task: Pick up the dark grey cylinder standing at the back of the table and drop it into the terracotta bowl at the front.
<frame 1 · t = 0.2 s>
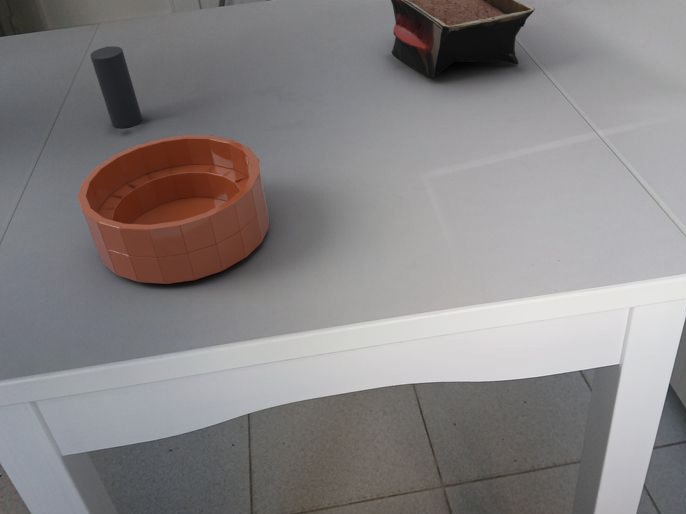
dark grey cylinder: (127, 121, 85), on the table
black soil planter box: (452, 59, 90), on the table
bowl: (186, 236, 66), on the table
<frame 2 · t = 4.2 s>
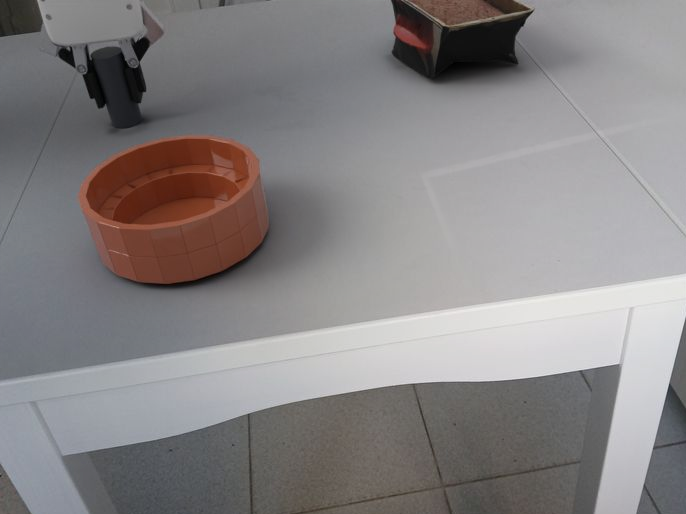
hand: (120, 99, 83), 3 cm above the table, tool pointing down, fingers closed on dark grey cylinder, 3 cm apart
dark grey cylinder: (127, 121, 85), on the table, touching gripper
everything else where it was.
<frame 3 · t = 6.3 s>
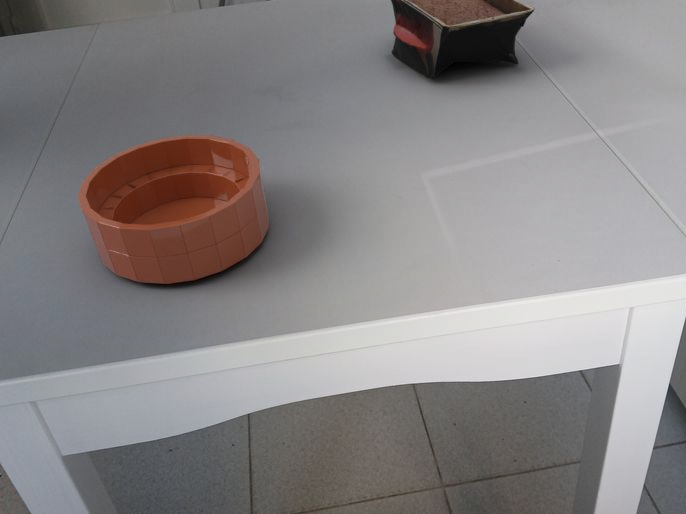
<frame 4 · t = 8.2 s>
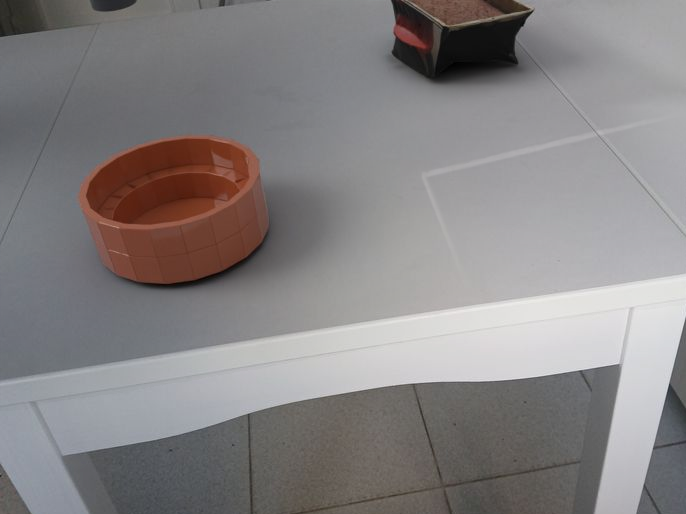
dark grey cylinder: (114, 4, 57), point 19 cm above the table, touching gripper
everything else where it was.
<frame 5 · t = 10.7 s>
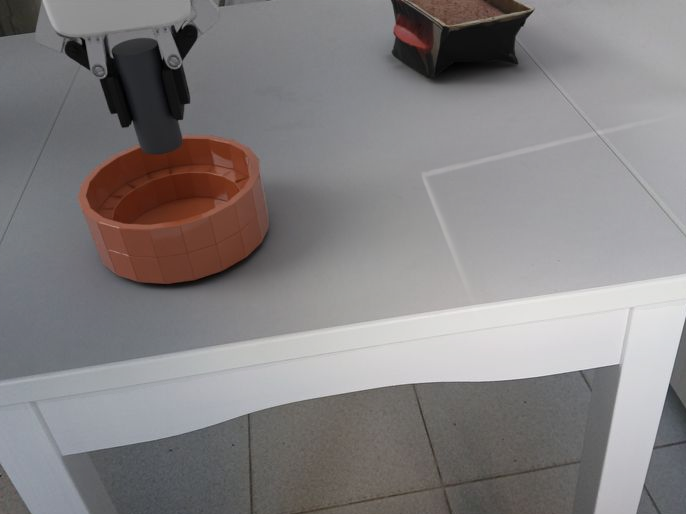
hand: (153, 114, 58), 12 cm above the table, tool pointing down, fingers closed on dark grey cylinder, 3 cm apart
dark grey cylinder: (162, 144, 60), point 9 cm above the table, touching gripper
everything else where it was.
when the fingers open (6 cm above the table, at t = 12.6 s): dark grey cylinder drops 3 cm, resting on bowl.
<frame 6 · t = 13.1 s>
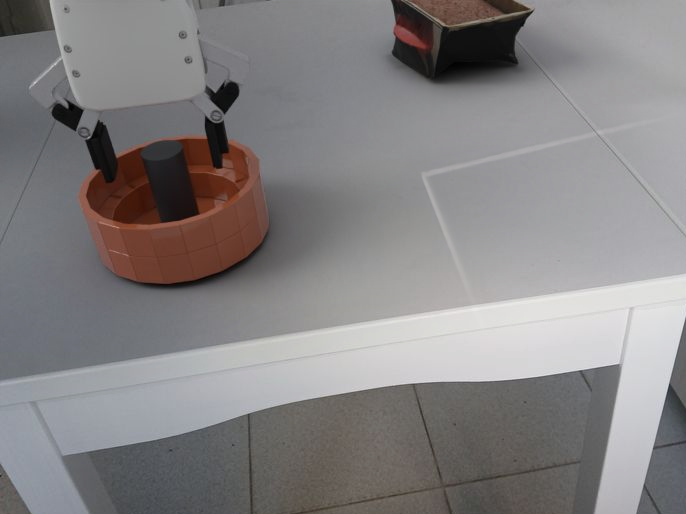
hand: (165, 167, 61), 7 cm above the table, tool pointing down, fingers open, 8 cm apart
dark grey cylinder: (183, 230, 66), point 1 cm above the table, touching bowl
everything else where it was.
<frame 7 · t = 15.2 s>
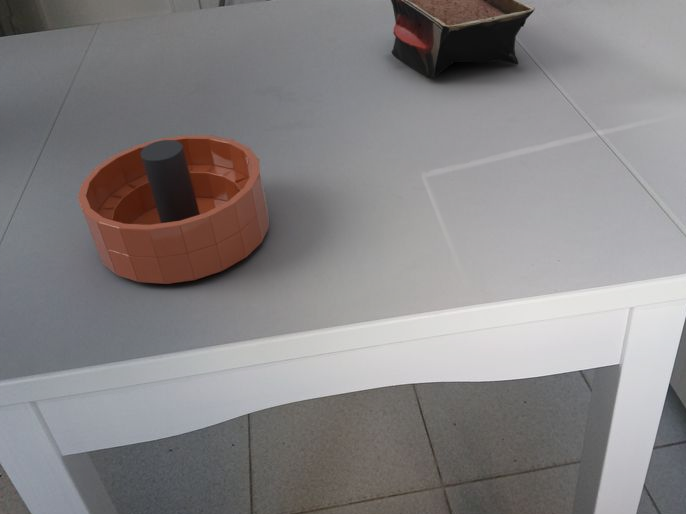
nothing on the table moved.
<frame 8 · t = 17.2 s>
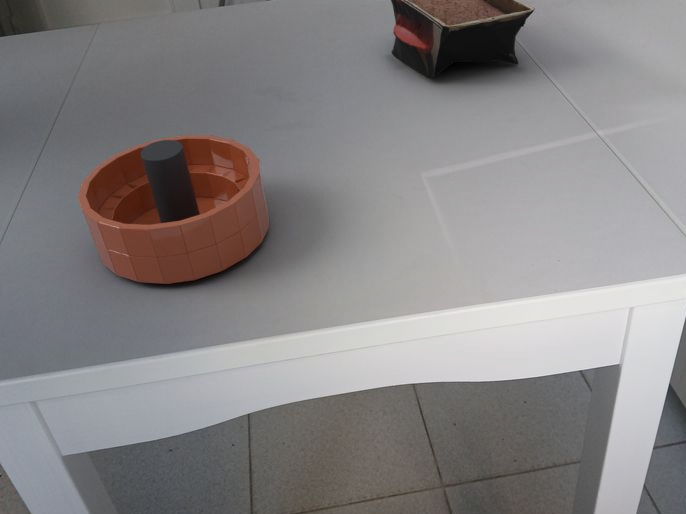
nothing on the table moved.
at the end: dark grey cylinder inside the target area in the bowl (0.1 cm from its centre), point 0.6 cm above the bowl's base; the gripper is holding nothing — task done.
